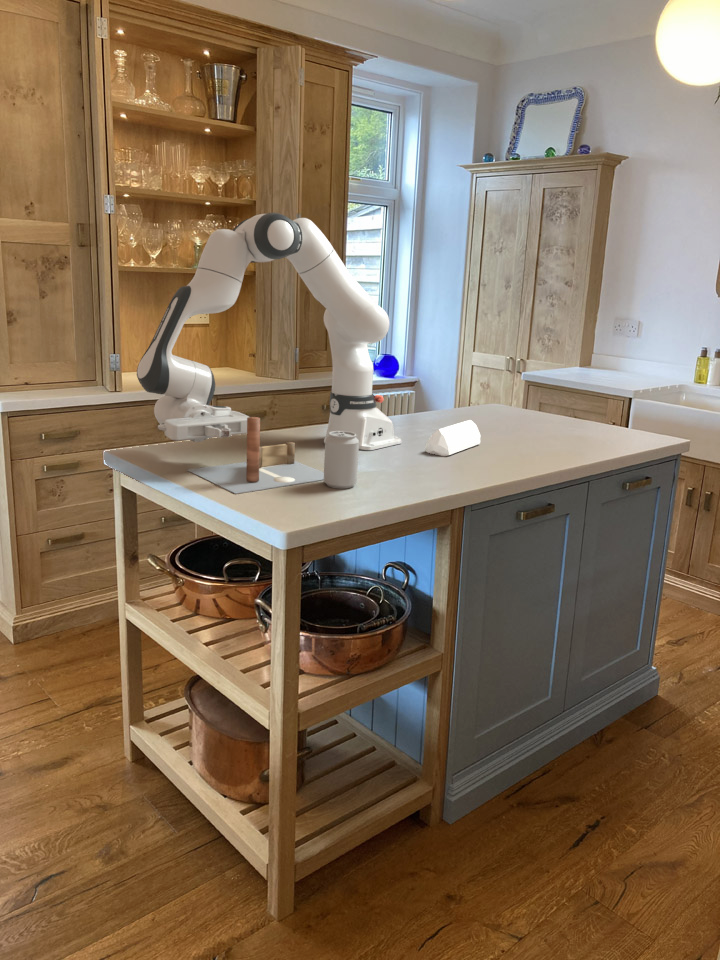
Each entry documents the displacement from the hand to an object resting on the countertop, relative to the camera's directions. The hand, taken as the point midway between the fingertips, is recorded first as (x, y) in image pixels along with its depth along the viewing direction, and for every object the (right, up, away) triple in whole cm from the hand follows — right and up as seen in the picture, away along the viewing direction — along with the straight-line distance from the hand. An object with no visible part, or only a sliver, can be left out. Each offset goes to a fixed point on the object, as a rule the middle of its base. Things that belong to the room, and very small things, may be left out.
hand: (225, 433), depth 171 cm
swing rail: (+6, -9, +6) cm, 12 cm away
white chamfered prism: (+56, -2, +45) cm, 72 cm away
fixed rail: (+9, -7, +16) cm, 19 cm away
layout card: (+7, -9, +9) cm, 14 cm away
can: (+25, -12, +3) cm, 28 cm away
